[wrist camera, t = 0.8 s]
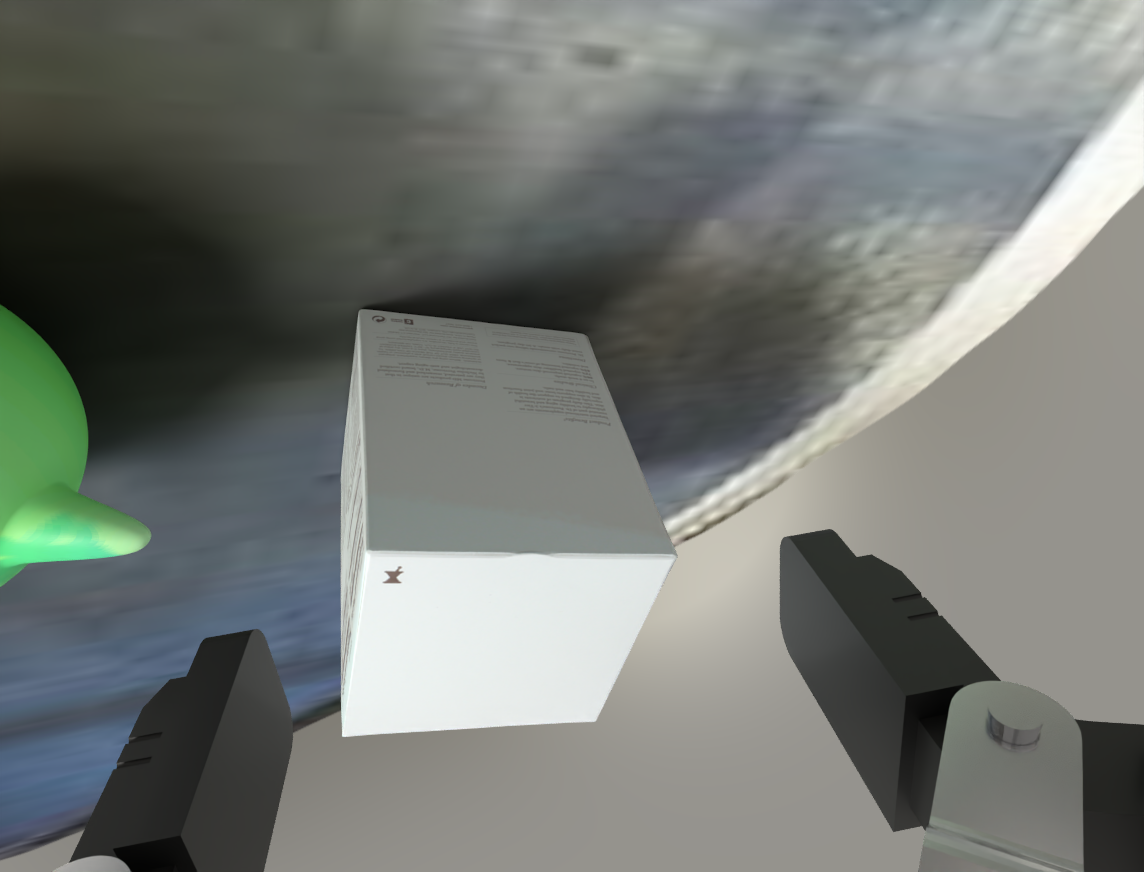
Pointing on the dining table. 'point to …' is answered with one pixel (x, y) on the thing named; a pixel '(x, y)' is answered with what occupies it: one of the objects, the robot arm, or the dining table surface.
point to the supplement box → (487, 529)
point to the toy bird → (48, 463)
